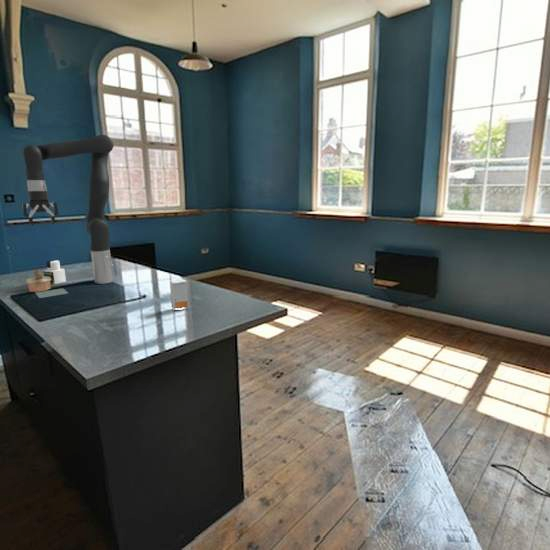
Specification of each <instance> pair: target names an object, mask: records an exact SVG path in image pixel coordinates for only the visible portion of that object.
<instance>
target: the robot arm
mask: <svg viewBox="0 0 550 550" xmlns="http://www.w3.org/2000/svg"><path fill="white" fill-rule="evenodd" d="M113 149H114V142H113V140H112V138H111V137H110V136H108V135H106V134H98V135H96V136H93V137H90V138H85V139H78V140H70V141H69V140H68V141H57V142H49V143H46V144H41V145H39V144H38V145H34V144H33V145H32V144H29V145H26V146H25V147H24V148H23V150H22V152H21V153H22V156H23V158H24V163H25V167H26V168H25V176H26V182H27V192H28V197H29V198H28V199H29V203H25V202H23V203H22V204H21V206H22V216H23V217H25V218H26V217H27V218H28V223H29V225H30V226H31V227H33V226H34V218H33V215H34V214H35V213H41V212H42V213H45V212H46V213H47V214H49V215H50V221H51V225H55V223H56V218H55V216H58V215H59V209H58V205H57V202H56V201H53V202H50V201H49V197H48V188H47V185H46V179H45V175H44V174H45V173H44V170H43V169H44V168H43V161H46V160H54V159H64V158H69V157H73V156H77V155H81V154H82V155H83V154H91V168H90V175H89V176H90V177H89V186H88V187H89V188H88V189H89V191H88V193H89V194H88V216H87V221H86V225H85V226H86V227H85V228H86V231H87V233H88V234H89V235H90V246H89V247H90V257H91V264H92V272H93V280H94V283H95V284H99V285H101V284H109V283H110V284H111V283H113V282H115V273H114V272H115V271H114V264H113V262H112V256H111V255H112V254H111V250H110V249H111V248H110V246H111V236H110V227H109V225H108V223H107V222H106V221H105V218H104V216H105V214H104V213H105V208H106V204H107V201H108V199H109V193H110V176H109V170H108V159H109V153H111V152H112V150H113ZM50 206H51V207H52V208H53V212H52V210H50V208H49V207H50ZM29 207H30V208H31V210H30V212H29V213H27V209H28V208H29Z"/></svg>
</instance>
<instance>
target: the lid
mask: <svg viewBox="0 0 550 550" xmlns="http://www.w3.org/2000/svg"><path fill="white" fill-rule="evenodd" d="M33 273H34V277H31V278H27V279H26V280H25V281H26V282H25V283H26V284H27V285H28V284H39V283H45V282H49V281H51V277H48V276H44V275H43V276H42V270H41V269H35V270H33Z"/></svg>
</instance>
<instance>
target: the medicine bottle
mask: <svg viewBox="0 0 550 550" xmlns="http://www.w3.org/2000/svg"><path fill="white" fill-rule="evenodd" d="M60 264H61V263H60V260H57V259H54V260H48V261H46V269H45V270H43V276H48V277H51V281H50V285H56V284H60V283H66V282H67V277H66V271H65V268H61V265H60Z"/></svg>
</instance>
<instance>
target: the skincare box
mask: <svg viewBox="0 0 550 550" xmlns="http://www.w3.org/2000/svg"><path fill="white" fill-rule="evenodd" d="M169 283H170V298H171V308H172V307H173V308H174V309H175V308H182V307H187V306H188V307H189V295H188V281H187V280H186V279H183V278H182V279H176V280H170V281H169Z"/></svg>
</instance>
